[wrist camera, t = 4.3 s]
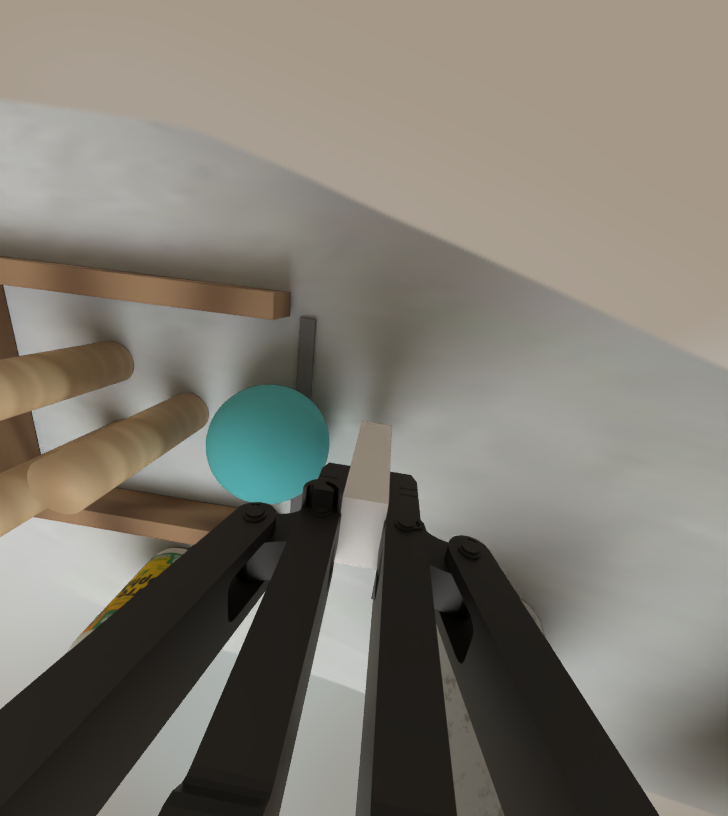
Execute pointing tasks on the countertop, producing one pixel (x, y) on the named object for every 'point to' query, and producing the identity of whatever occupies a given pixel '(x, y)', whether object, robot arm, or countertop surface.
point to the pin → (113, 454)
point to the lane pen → (16, 435)
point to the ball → (267, 444)
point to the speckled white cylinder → (467, 747)
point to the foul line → (304, 374)
